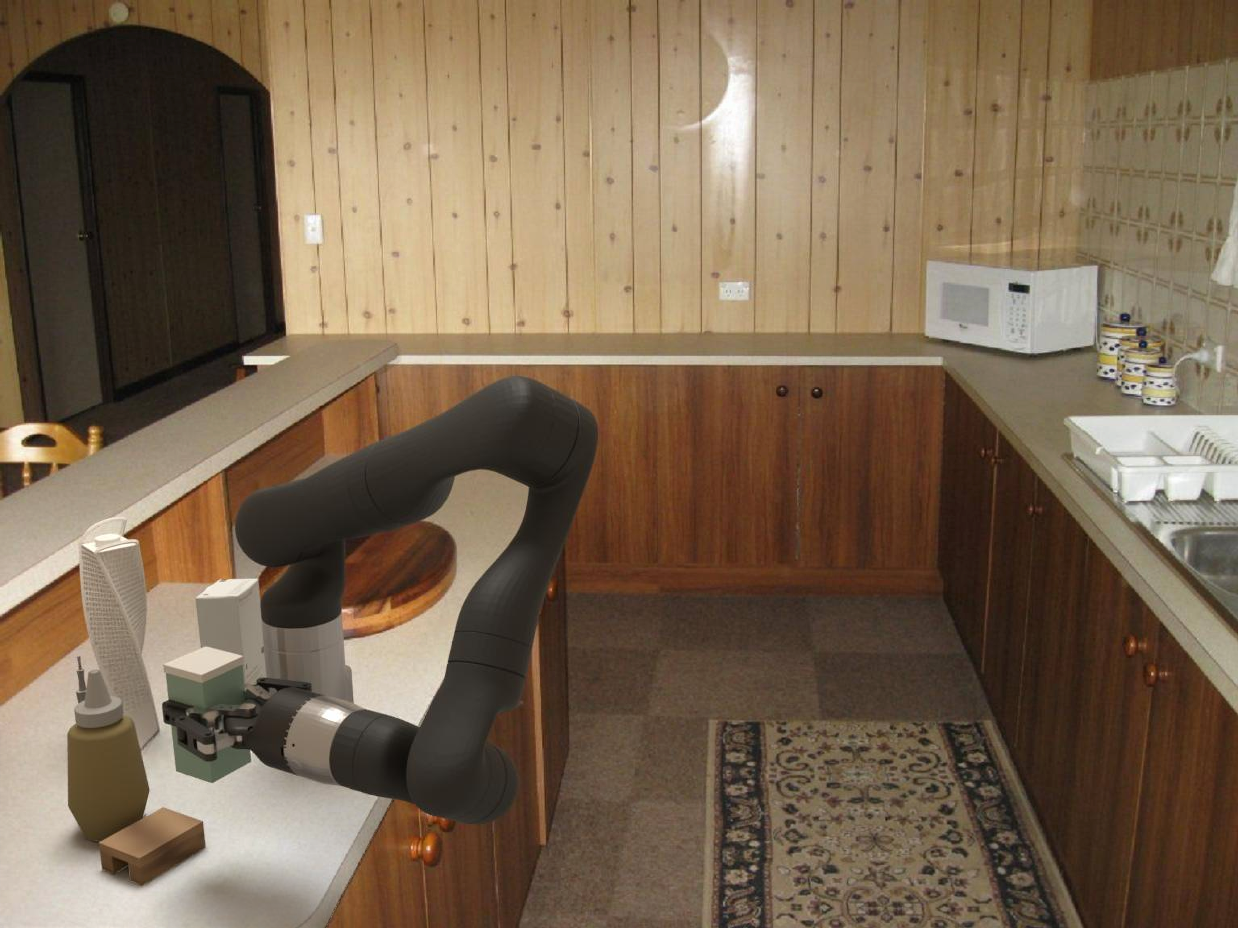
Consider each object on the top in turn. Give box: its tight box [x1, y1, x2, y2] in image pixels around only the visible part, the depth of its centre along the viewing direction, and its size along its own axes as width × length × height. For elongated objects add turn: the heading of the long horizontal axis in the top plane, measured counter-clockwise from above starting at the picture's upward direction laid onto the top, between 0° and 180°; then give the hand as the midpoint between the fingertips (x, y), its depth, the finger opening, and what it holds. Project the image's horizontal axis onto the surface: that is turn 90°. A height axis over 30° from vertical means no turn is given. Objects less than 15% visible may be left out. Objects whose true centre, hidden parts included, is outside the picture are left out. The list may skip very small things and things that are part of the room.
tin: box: [162, 646, 252, 784], centre depth 121 cm, size 5×5×11 cm
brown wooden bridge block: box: [98, 806, 207, 886], centre depth 127 cm, size 8×6×3 cm
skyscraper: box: [75, 516, 161, 751], centre depth 150 cm, size 8×8×28 cm
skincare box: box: [195, 578, 266, 685], centre depth 165 cm, size 8×6×15 cm
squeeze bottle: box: [66, 669, 151, 842], centre depth 131 cm, size 8×8×18 cm
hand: (188, 699), depth 122 cm, fingers closed on tin, 5 cm apart
